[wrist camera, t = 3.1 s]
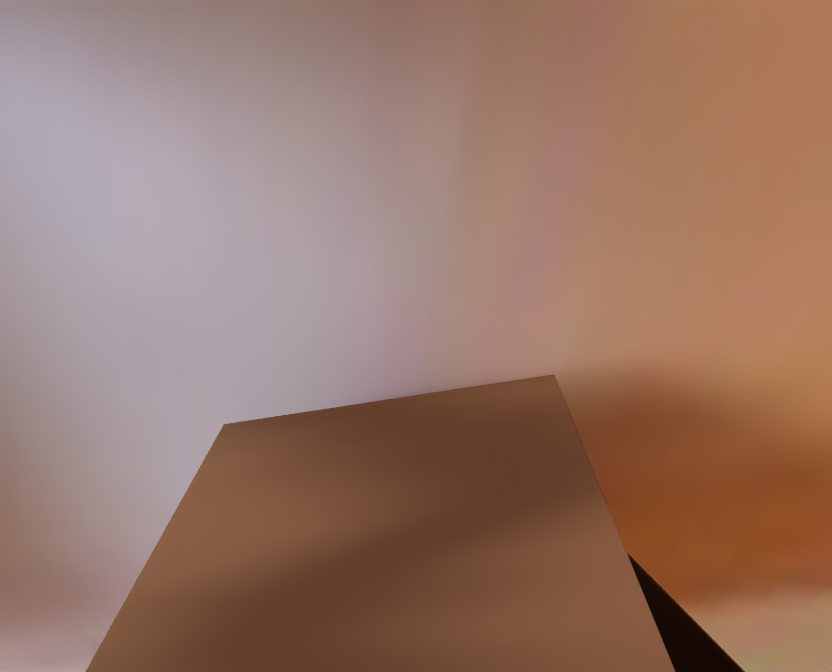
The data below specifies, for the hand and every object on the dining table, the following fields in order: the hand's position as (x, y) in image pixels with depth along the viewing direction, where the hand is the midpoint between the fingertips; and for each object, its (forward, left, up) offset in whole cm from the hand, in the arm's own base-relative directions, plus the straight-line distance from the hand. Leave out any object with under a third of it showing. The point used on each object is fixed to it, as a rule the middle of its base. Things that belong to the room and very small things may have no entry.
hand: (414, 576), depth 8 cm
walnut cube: (0, 0, -1) cm, 1 cm away
